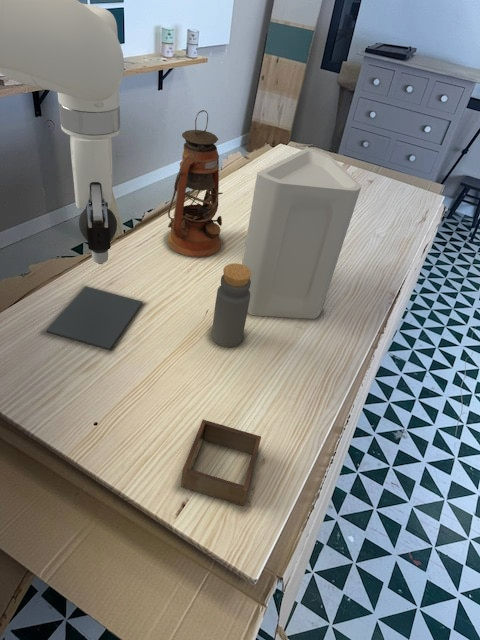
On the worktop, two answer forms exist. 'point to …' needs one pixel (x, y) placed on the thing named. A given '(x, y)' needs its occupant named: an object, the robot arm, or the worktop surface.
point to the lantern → (196, 220)
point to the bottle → (231, 305)
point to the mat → (95, 318)
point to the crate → (213, 484)
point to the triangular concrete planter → (297, 233)
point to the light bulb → (97, 255)
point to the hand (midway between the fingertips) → (98, 236)
